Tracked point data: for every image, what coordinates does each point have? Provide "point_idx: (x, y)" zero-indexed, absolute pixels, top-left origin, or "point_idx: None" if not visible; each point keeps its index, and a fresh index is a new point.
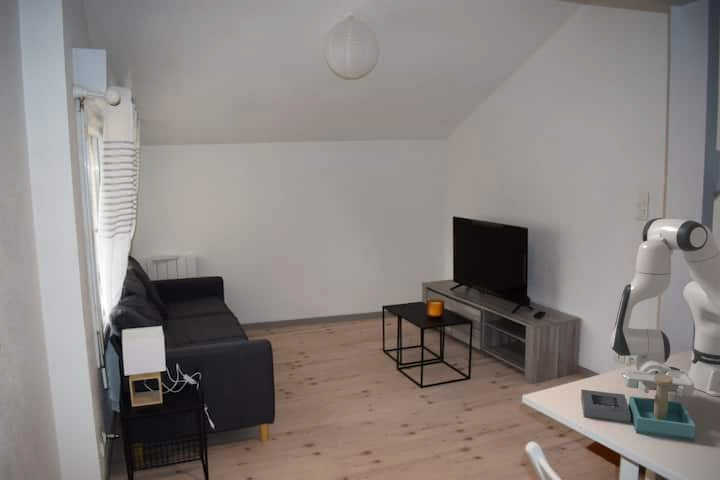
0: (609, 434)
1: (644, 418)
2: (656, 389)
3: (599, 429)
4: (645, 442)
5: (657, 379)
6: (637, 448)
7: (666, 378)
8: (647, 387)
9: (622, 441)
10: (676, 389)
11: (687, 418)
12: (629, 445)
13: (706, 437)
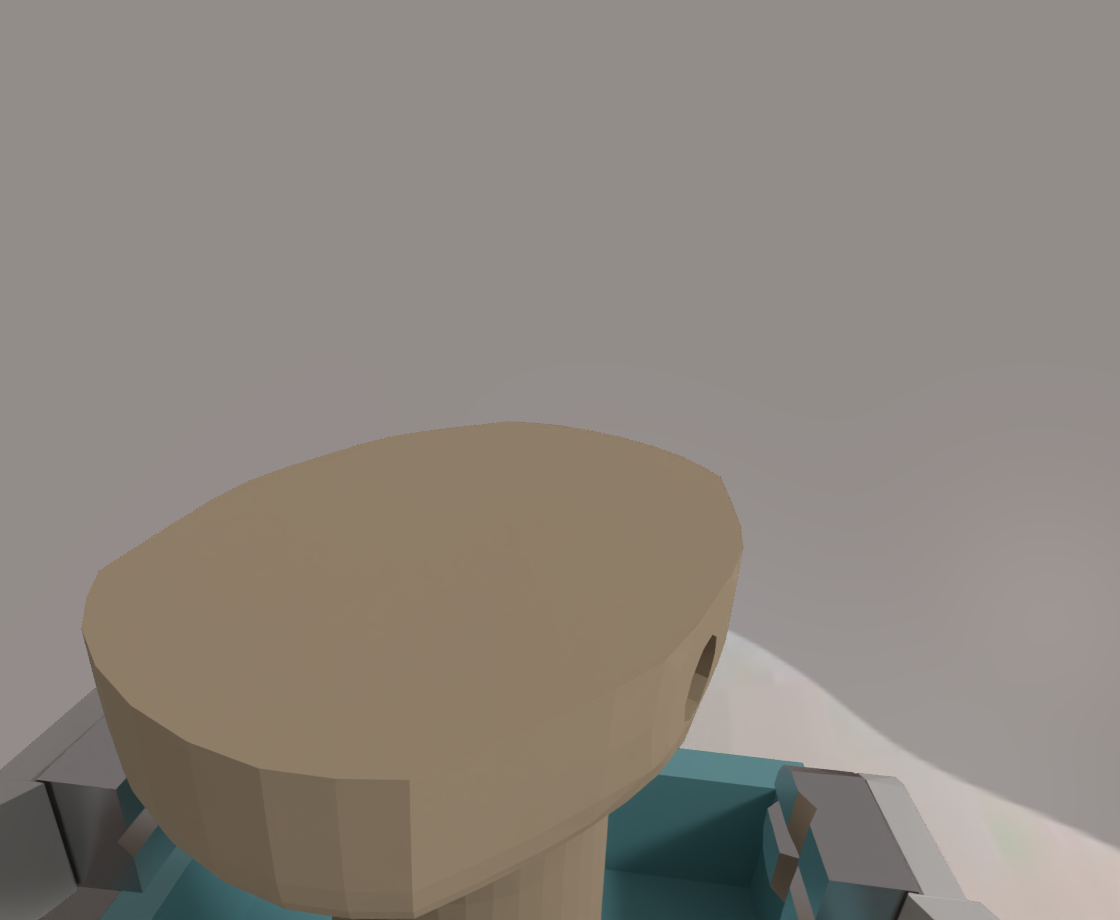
0: (969, 817)
1: (733, 770)
2: (605, 841)
3: (1094, 892)
4: (690, 746)
5: (668, 471)
6: (740, 679)
7: (395, 508)
8: (828, 790)
9: (844, 737)
10: (115, 778)
11: (188, 873)
12: (790, 701)
13: (66, 916)
